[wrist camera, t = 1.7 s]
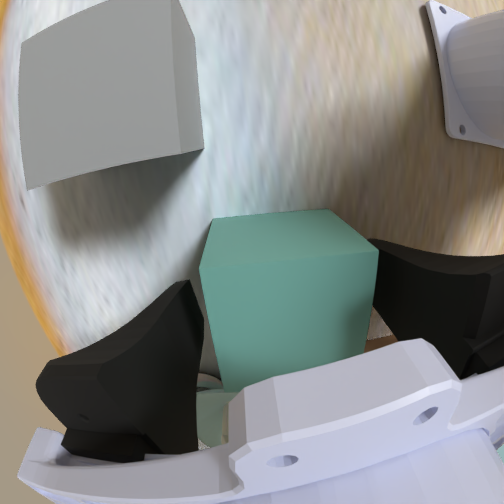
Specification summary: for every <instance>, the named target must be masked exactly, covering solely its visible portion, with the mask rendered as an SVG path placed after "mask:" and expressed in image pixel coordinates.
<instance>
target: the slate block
mask: <svg viewBox="0 0 504 504" xmlns="http://www.w3.org/2000/svg"><path fill="white" fill-rule="evenodd" d="M18 101H19V129H20V142H21V152H22V160H23V168H24V174H25V181H26V186H27V191H28V190H31V189H34V188H37V187H40V186H43V185H47V184H50V183H53V182H56V181H60V180H63V179H67V178H70V177H74V176H78V175H81V174H85V173H89V172H93V171H97V170H101V169H105V168H110V167H114V166H119V165H123V164H128V163H133V162H138V161H143V160H148V159H153V158H159V157H165V156H171V155H177V154H183V153H187V152H191V151H195V150H200V149H204V139H203V129H202V119H201V109H200V98H199V86H198V74H197V61H196V47H195V37H194V35H193V32H192V30H191V28H190V25H189V23H188V21H187V18H186V16H185V14H184V11H183V9H182V7H181V4H180V2H179V0H108V1H105V2H102V3H100V4H97V5H95V6H92V7H90V8H87V9H85V10H83V11H81V12H78V13H76V14H74V15H72V16H70V17H67V18H65V19H63V20H61V21H59V22H57V23H55V24H54V25H52V26H50V27H48V28H46V29H44V30H43V31H41V32H39V33H37V34H36V35H34V36H32V37H31V38H29V39H27V40H26V41H24V42H22V45H21V55H20V67H19V94H18Z"/></svg>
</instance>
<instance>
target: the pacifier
mask: <svg viewBox="0 0 504 504" xmlns="http://www.w3.org/2000/svg"><path fill="white" fill-rule="evenodd" d="M197 387H205V388H209V389H211V390H205V391H200V392H197V398H196V411H197V435H198V438H199V439H200V440H201V441H202V442H203V443H204V444H206V445H207V446H209V447H215V446H219V445H222V444H226V443H229V427H228V423H229V402H230V401H231V400H232V399H233V398H234V397H235V396H236V395H237V394H238V393H239V392H226V393H225V392H224V388H223V383H222V382H221V381H220V380H219V379H217V378H215V377H213V376H210V375H208V374H203V373H198V379H197Z"/></svg>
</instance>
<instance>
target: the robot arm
mask: <svg viewBox="0 0 504 504" xmlns="http://www.w3.org/2000/svg"><path fill="white" fill-rule="evenodd" d="M425 5H426V9H427V13H428V16H429V20H430V24H431V28H432V32H433V36H434V41H435V46H436V51H437V56H438V62H439V68H440V74H441V81H442V90H443V99H444V111H445V127H446V132H447V134H448V135H449V136H450V137H451V138H456V139H461V140H467V141H472V142H477V143H482V144H487V145H492V146H496V147H500V148H504V10H501V11H497V12H493V13H489V14H485V15H482V16H479V17H475V18H470V17H468V16H466V15H464V14H462V13H460V12H458V11H456V10H454V9H452V8H450V7H448V6H445V5H443V4H441V3H438V2H436V1H434V0H429V1H427V2H426V4H425ZM440 10H441V11H442V12H441V11H440ZM459 128H461V133H460V130H459ZM366 240H367V241H368V242H370V243H371V244H372V245H373V246H374V247H375V248H377V249H378V250H379V255H378V265H377V274H376V282H375V290H374V297H373V304H372V305H373V307H374V308H375V309H376V311H377V312H378V313H379V315H380V316H381V317H382V319H383V320H384V322H385V323H386V324H387V326H388V327H389V328H390V330H391V331H392V333H393V334H394V336H395V337H396V339H397V340H398V342H396V343H393V344H390V345H387V346H384V347H381V348H378V349H375V350H372V351H369V352H366V353H363V354H360V355H357V356H353V357H350V358H347V359H343V360H340V361H336V362H333V363H329V364H325V365H321V366H318V367H314V368H310V369H306V370H301V371H297V372H293V373H288V374H284V375H279V376H274V377H271V378H268V379H266V380H263V381H261V382H258V383H255V384H252V385H250V386H247V387H245V388H243V389H242V390H241V391H240V392H239V393H238V394H237V395H236V396H235V397H234V398H233V399H232V400H231V401H230V402H229V423H228V427H229V443H226V444H222V445H219V446H215V447H211V448H207V449H203V450H199V449H198V435H197V411H196V398H197V379H198V372H199V366H200V360H201V353H202V347H203V340H204V318H203V315H202V312H201V310H200V307H199V304H198V302H197V299H196V296H195V293H194V291H193V288H192V285H191V282H190V279H189V280H184V281H180V282H176V283H174V284H173V285H171V286H170V287H169V288H168V289H167V290H165V291H164V292H163V293H162V294H161V295H160V296H159V297H158V298H157V299H156V300H154V301H153V302H152V303H151V304H150V305H149V306H148V307H147V308H145V309H144V310H143V311H142V312H141V313H139V314H138V315H137V316H136V317H135V318H133V319H132V320H131V321H130V322H128V323H127V324H125V325H124V326H123V327H121V328H120V329H118V330H117V331H115V332H113V333H112V334H110V335H108V336H107V337H105V338H103V339H101V340H100V341H98V342H96V343H94V344H92V345H90V346H88V347H86V348H83V349H81V350H79V351H76V352H74V353H71V354H68V355H65V356H62V357H59V358H57V359H53V360H50V361H49V362H48V363H47V364H46V366H45V367H44V369H43V370H42V372H41V374H40V375H39V377H38V379H37V381H36V389H37V392H38V394H39V396H40V398H41V400H42V401H43V403H44V404H45V405H46V406H47V407H48V409H49V410H50V411H51V412H52V413H53V414H54V415H55V416H56V417H57V418H58V420H59V421H61V422H62V424H63V425H64V426H65V427H66V428H67V430H66V433H65V435H63V434H62V433H60V432H58V431H55V430H50V429H45V428H41V427H38V428H37V429H36V431H35V434H34V436H33V438H32V440H31V442H30V445H29V447H28V449H27V452H26V454H25V456H24V459H23V461H22V464H21V466H20V469H19V471H18V474H17V477H18V479H20V480H21V481H22V482H24V483H25V484H27V485H28V486H29V487H31V488H32V489H34V490H35V491H37V492H38V493H40V494H41V495H43V496H44V497H46V498H48V499H49V500H51V501H53V502H54V503H56V504H504V464H503V462H502V460H501V458H500V456H499V455H498V453H497V451H496V450H497V449H498V448H499V447H501V446H502V445H503V444H504V254H502V255H495V256H453V255H444V254H437V253H431V252H426V251H422V250H417V249H413V248H409V247H405V246H402V245H398V244H394V243H391V242H387V241H383V240H379V239H372V238H370V239H366Z"/></svg>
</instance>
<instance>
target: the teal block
mask: <svg viewBox="0 0 504 504" xmlns="http://www.w3.org/2000/svg"><path fill="white" fill-rule="evenodd" d="M378 255H379V250H378V249H377V248H375V247H374V246H373V245H372V244H371V243H370V242H368V241H367V240H366V239H365V238H364V237H363V236H361V235H360V234H359V233H358V232H357V231H355V230H354V229H353V228H352V227H351V226H349V225H348V224H347V223H346V222H344V221H343V220H342V219H341V218H339V217H338V216H337V215H336V214H334V213H333V212H332V211H331V210H329V209H317V210H303V211H290V212H278V213H266V214H255V215H245V216H234V217H224V218H215V219H213V220H212V224H211V227H210V231H209V234H208V237H207V241H206V245H205V248H204V252H203V255H202V259H201V263H200V266H199V273H200V278H201V284H202V289H203V294H204V300H205V305H206V310H207V315H208V320H209V325H210V330H211V335H212V339H213V344H214V349H215V353H216V358H217V362H218V366H219V371H220V375H221V379H222V383H223V388H224V392H225V393H226V392H240V391H241V390H242V389H243V388H245V387H247V386H250V385H252V384H255V383H258V382H261V381H263V380H266V379H268V378H271V377H274V376H279V375H284V374H288V373H293V372H297V371H301V370H306V369H310V368H314V367H318V366H321V365H325V364H329V363H333V362H336V361H340V360H343V359H347V358H350V357H353V356H357V355H360V354H363V353H364V348H365V344H366V338H367V333H368V328H369V322H370V316H371V310H372V304H373V297H374V290H375V282H376V274H377V265H378Z"/></svg>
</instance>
